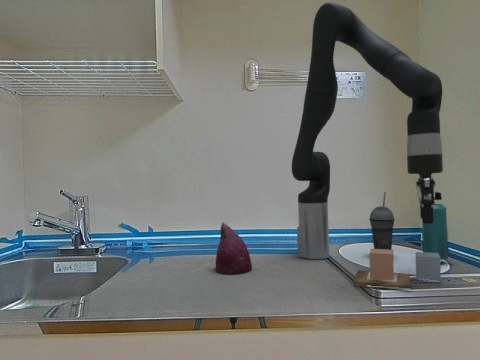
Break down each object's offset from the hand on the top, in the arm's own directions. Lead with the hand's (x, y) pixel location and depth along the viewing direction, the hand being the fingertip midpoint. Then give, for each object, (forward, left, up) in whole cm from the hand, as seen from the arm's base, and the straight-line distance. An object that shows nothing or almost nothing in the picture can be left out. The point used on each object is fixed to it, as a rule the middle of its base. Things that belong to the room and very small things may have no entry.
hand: (426, 221), depth 86 cm
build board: (-10, -6, -14) cm, 18 cm away
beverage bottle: (+3, +18, -14) cm, 23 cm away
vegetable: (-49, -6, -14) cm, 51 cm away
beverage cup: (-11, +21, -14) cm, 28 cm away
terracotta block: (-10, -6, -13) cm, 17 cm away
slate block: (0, 0, -14) cm, 14 cm away
